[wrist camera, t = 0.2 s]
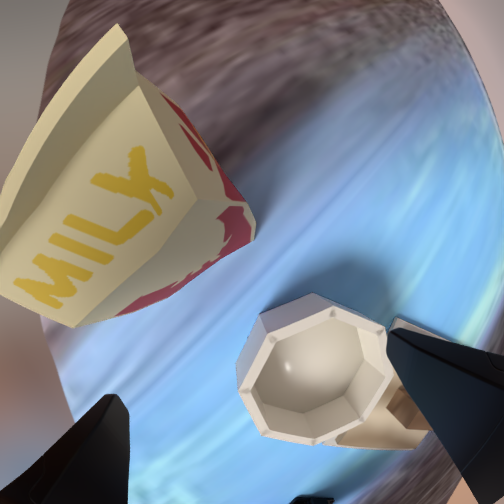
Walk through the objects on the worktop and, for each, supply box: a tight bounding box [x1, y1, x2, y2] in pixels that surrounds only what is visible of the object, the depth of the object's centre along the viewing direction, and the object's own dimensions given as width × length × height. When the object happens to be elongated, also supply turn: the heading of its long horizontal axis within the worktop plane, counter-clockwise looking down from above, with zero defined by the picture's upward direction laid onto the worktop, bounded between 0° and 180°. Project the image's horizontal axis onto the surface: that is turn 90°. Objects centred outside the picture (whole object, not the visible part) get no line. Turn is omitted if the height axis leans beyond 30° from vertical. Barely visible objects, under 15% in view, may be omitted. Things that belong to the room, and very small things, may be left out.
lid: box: [335, 366, 433, 449], centre depth 22 cm, size 14×14×6 cm
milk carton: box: [0, 24, 256, 328], centre depth 12 cm, size 9×9×20 cm
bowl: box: [236, 292, 394, 446], centre depth 21 cm, size 12×12×5 cm
